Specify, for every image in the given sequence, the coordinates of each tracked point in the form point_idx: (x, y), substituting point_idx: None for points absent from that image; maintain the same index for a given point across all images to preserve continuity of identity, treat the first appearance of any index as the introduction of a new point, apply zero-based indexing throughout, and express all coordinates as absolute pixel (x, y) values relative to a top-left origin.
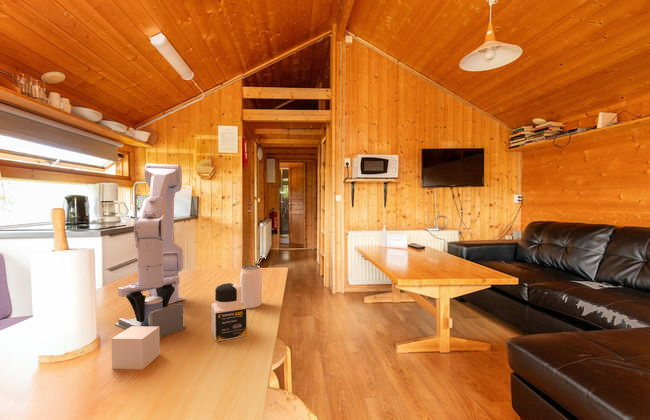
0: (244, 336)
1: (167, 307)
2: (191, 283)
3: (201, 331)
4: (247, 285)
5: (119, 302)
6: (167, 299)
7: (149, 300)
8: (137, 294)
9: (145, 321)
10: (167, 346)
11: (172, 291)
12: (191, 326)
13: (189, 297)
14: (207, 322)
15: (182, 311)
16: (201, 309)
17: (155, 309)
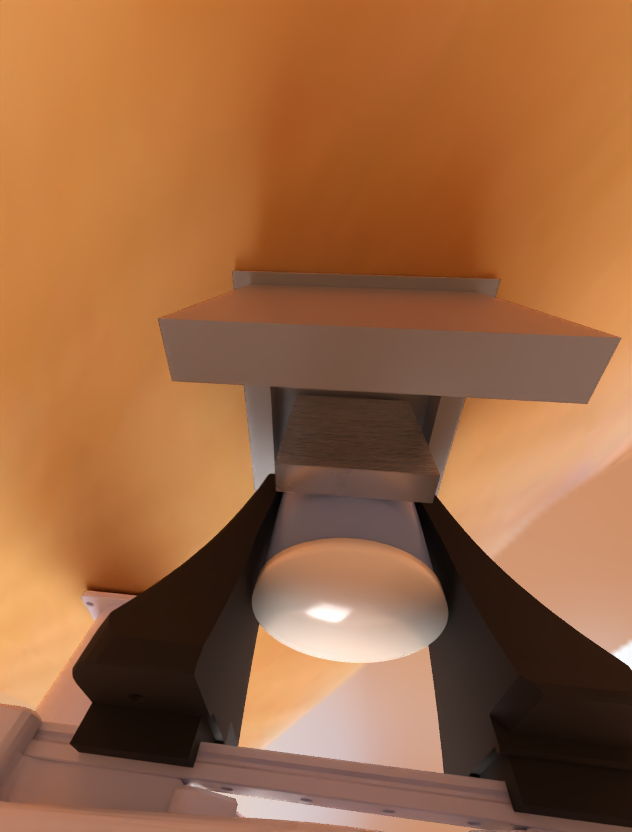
0: None
1: (370, 355)
2: (15, 671)
3: (188, 64)
4: None
5: (271, 694)
6: (227, 549)
7: (372, 613)
8: (564, 757)
9: None
10: (547, 16)
11: (141, 609)
12: (198, 262)
13: (60, 594)
14: (81, 222)
15: (210, 300)
16: (51, 451)
17: (373, 492)
